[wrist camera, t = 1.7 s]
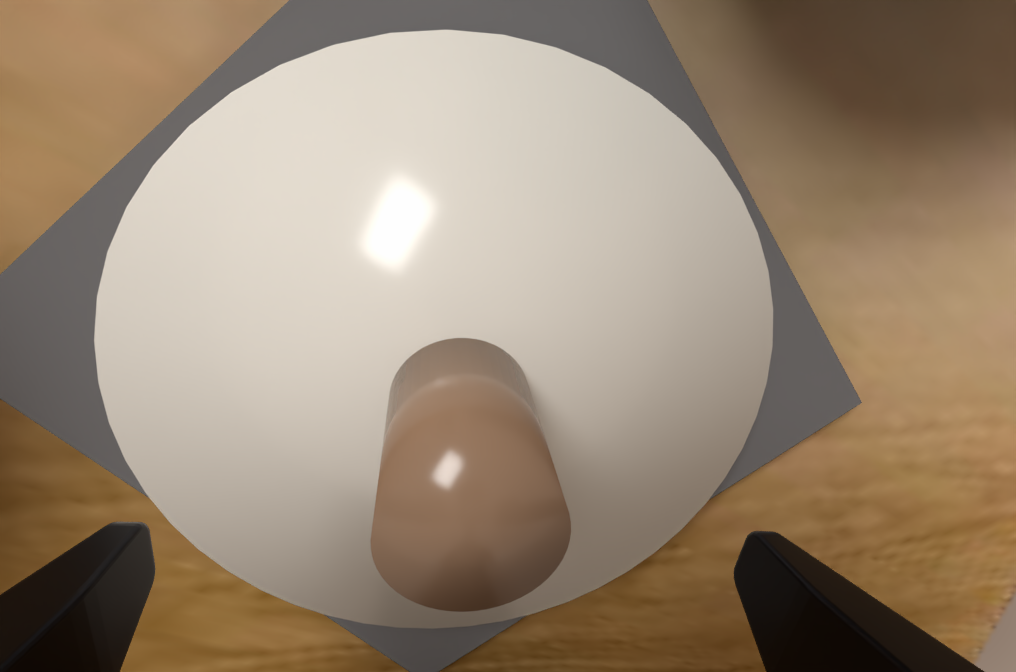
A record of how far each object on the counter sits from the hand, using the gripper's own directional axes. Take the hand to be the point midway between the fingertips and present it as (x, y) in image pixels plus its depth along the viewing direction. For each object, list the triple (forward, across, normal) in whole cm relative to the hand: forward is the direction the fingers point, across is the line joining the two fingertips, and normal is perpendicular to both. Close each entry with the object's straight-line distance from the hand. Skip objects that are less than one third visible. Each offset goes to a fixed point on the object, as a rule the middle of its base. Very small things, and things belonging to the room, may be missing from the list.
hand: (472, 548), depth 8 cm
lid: (+5, 0, 0) cm, 5 cm away
